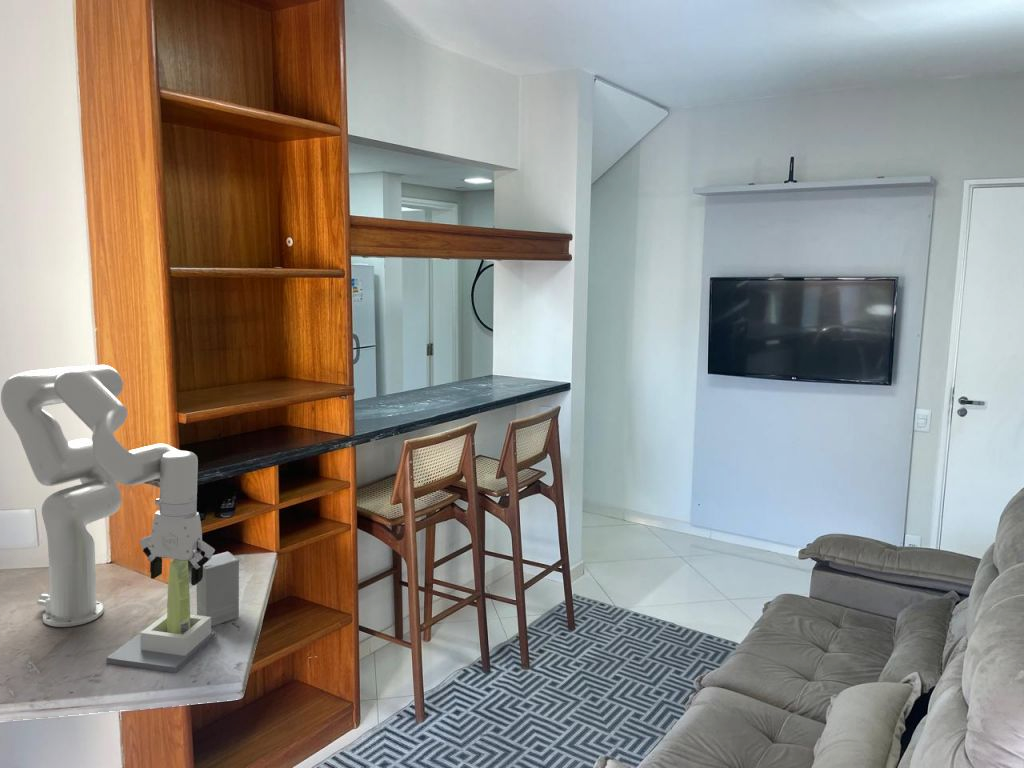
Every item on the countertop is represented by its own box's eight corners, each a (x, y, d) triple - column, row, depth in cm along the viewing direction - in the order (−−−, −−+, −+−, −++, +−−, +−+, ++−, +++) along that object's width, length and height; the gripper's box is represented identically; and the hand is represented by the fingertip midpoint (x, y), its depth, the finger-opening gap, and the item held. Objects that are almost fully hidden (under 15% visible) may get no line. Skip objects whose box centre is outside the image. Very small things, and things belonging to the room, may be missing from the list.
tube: (163, 636, 169) (163, 554, 166) (186, 630, 172) (186, 550, 170) (170, 646, 165) (170, 562, 162) (193, 640, 168) (194, 558, 165)
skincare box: (228, 609, 186) (228, 549, 184) (240, 620, 181) (241, 558, 179) (194, 618, 180) (194, 557, 178) (206, 630, 175) (206, 566, 173)
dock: (106, 662, 159) (105, 640, 158) (152, 628, 175) (151, 607, 174) (175, 672, 157) (175, 649, 156) (215, 636, 173) (215, 615, 172)
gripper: (131, 506, 161) (130, 580, 164) (205, 517, 159) (203, 592, 162) (152, 496, 168) (150, 567, 171) (223, 507, 166) (221, 578, 169)
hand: (176, 579), depth 166 cm, fingers open, 9 cm apart
